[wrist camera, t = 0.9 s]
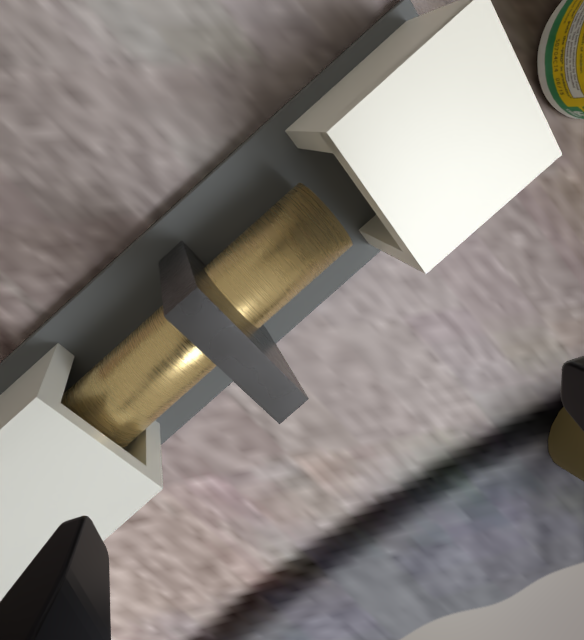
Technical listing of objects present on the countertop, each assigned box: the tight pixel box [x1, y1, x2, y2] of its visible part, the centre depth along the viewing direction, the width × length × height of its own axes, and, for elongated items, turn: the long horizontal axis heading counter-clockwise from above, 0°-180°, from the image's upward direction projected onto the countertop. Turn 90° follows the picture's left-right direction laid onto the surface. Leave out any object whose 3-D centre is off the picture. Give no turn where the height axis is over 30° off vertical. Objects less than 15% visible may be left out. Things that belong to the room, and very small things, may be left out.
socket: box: [285, 0, 562, 274], centre depth 18 cm, size 6×6×5 cm
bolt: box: [61, 183, 353, 449], centre depth 17 cm, size 17×5×6 cm, turn 129°
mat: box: [0, 0, 419, 444], centre depth 21 cm, size 26×7×1 cm, turn 129°
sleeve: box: [0, 343, 163, 601], centre depth 19 cm, size 7×5×4 cm
